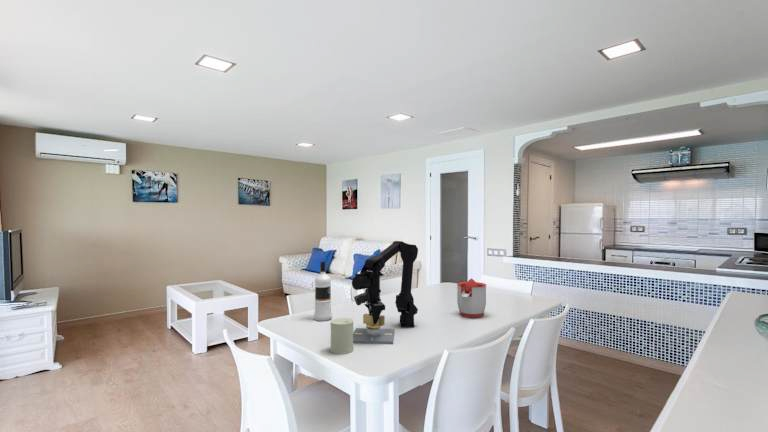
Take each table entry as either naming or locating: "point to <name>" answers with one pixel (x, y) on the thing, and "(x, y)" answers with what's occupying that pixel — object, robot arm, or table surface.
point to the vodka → (322, 295)
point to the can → (341, 336)
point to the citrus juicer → (471, 298)
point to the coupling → (369, 321)
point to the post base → (373, 336)
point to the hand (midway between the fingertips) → (373, 322)
